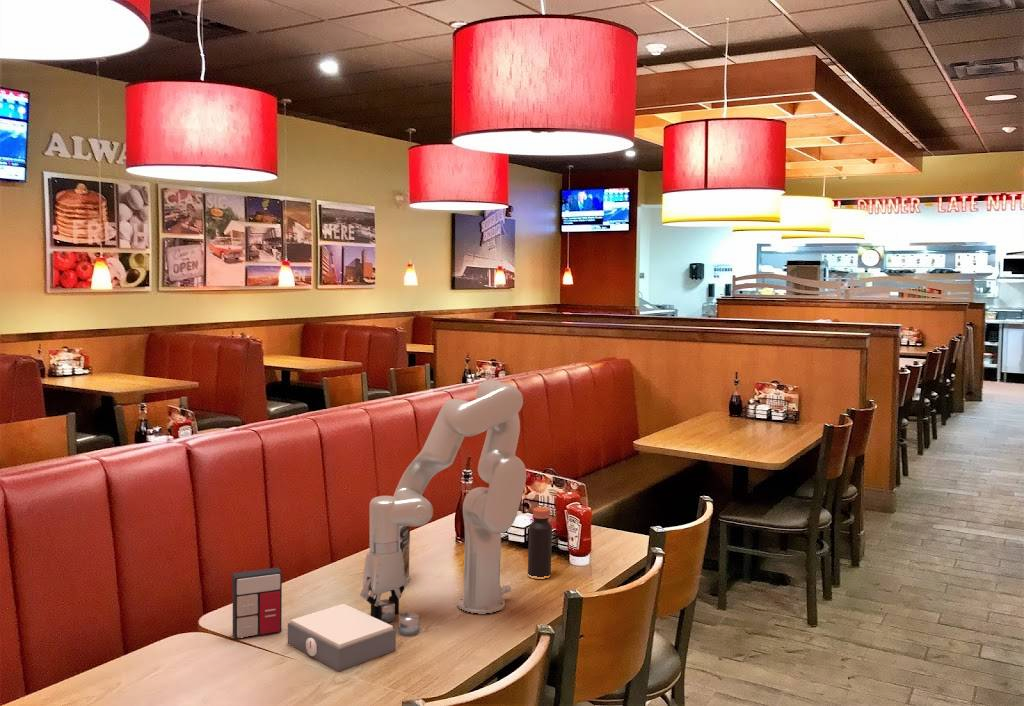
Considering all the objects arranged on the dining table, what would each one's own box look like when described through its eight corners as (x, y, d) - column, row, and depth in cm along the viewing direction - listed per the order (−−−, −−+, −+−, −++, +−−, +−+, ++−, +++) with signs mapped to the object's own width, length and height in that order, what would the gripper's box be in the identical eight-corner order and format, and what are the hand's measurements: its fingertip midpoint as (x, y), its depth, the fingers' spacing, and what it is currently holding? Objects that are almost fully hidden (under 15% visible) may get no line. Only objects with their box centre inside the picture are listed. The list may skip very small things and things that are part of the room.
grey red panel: (235, 640, 205) (235, 578, 203) (231, 634, 208) (232, 573, 207) (282, 633, 210) (282, 572, 208) (278, 626, 213) (278, 567, 212)
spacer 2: (409, 626, 216) (410, 611, 216) (423, 632, 213) (423, 616, 212) (394, 632, 212) (394, 616, 212) (407, 638, 209) (407, 622, 209)
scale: (343, 625, 215) (344, 602, 215) (395, 650, 202) (395, 626, 201) (285, 644, 203) (285, 620, 203) (336, 672, 190) (336, 646, 189)
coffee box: (399, 588, 242) (400, 531, 241) (377, 586, 244) (378, 529, 242) (410, 577, 251) (411, 522, 250) (388, 575, 252) (389, 520, 251)
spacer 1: (386, 613, 223) (386, 597, 223) (399, 618, 220) (399, 603, 219) (370, 618, 219) (370, 603, 219) (383, 624, 216) (383, 608, 215)
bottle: (554, 575, 256) (557, 508, 255) (543, 581, 251) (545, 513, 249) (535, 570, 260) (537, 505, 258) (523, 577, 254) (525, 509, 252)
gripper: (401, 535, 226) (401, 603, 228) (347, 550, 214) (348, 621, 216) (420, 542, 221) (420, 611, 223) (366, 557, 209) (367, 630, 211)
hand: (385, 615), depth 219 cm, fingers closed on spacer 1, 5 cm apart
